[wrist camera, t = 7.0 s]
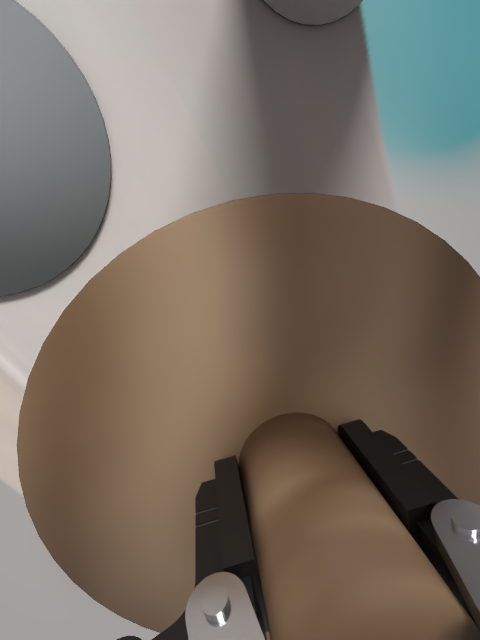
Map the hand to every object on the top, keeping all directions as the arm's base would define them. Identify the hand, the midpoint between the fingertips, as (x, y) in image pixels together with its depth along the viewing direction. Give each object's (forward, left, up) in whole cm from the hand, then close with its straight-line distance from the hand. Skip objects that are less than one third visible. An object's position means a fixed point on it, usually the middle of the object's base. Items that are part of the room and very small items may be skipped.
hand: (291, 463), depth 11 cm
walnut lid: (0, 0, -1) cm, 1 cm away
